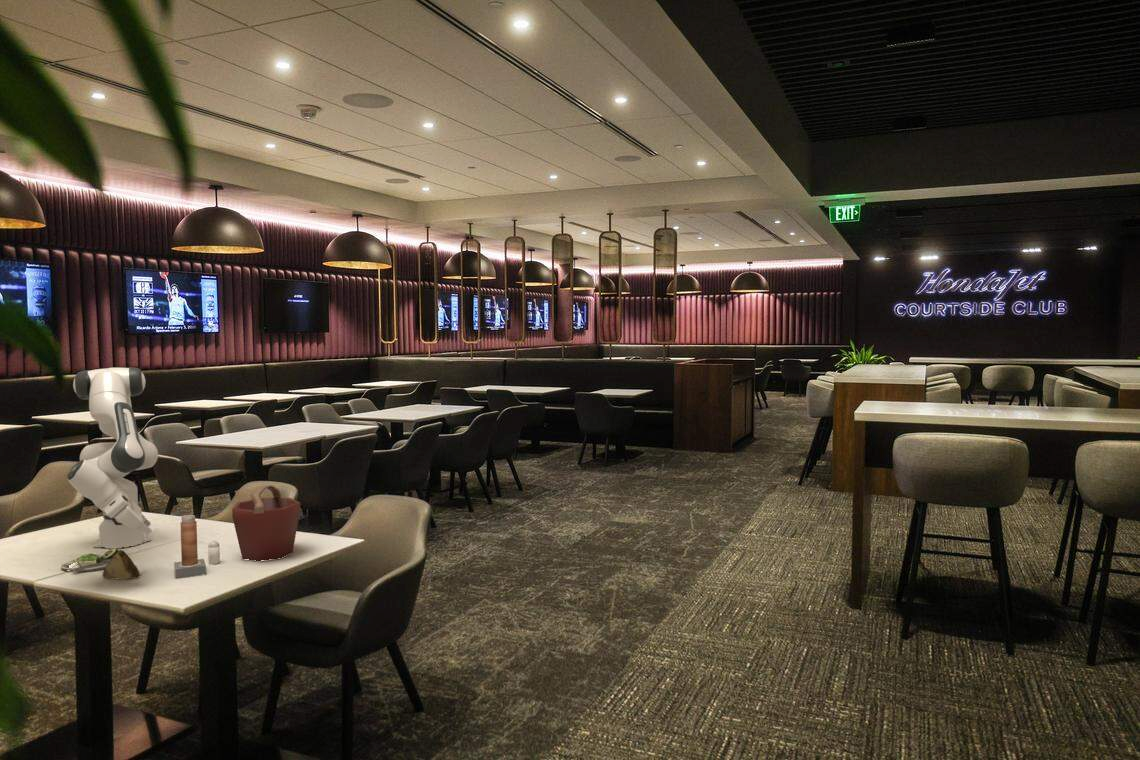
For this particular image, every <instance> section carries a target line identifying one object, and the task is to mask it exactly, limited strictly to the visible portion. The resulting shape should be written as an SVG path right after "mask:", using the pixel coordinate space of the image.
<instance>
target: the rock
mask: <svg viewBox="0 0 1140 760" xmlns="http://www.w3.org/2000/svg"><path fill="white" fill-rule="evenodd" d="M140 576H141V577H142V575H141V572H140V570H139V568H138V566H137V565H135V563H134V561H133V560H132V558H131V557H130V556H129V555H128V554H127V552H125V550H122V549H118V552H117V553H116V554H115V555H114V556H113V558H111V559H110V560H109V562H108V563H107V565H106V566H105V569H103V572H102V578H103V577H104V578H103V579H111V578H118V579H117V580H133V579H137V578H139V577H140ZM141 577H140V578H141Z"/></svg>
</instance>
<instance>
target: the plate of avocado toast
mask: <svg viewBox="0 0 1140 760" xmlns="http://www.w3.org/2000/svg"><path fill="white" fill-rule="evenodd" d="M118 551H119V548H109V549H108V550H107V551H106V552H105V553H104V554H103V553H88V554H82V555H80V556H78V557H76V558H74V559H72V560H70V561H67V562H65V563H62V564H61V565H60V568H61V569H62V570H64V571H66V570H70V571H87V572H91V570H94V571H98V570H97V569H100V570H104V569H103V568H105V566H106V565H107V563H108V562H109V560H110V559H111V558H113V556H114V555H115V554H116V553H117V552H118ZM76 562H77V563H78V564H77V565H78V566H79V567H75V568H73V567H72V568H69V565H71V564H73V563H76ZM70 571H69V572H70Z"/></svg>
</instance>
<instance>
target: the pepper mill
mask: <svg viewBox="0 0 1140 760" xmlns="http://www.w3.org/2000/svg"><path fill="white" fill-rule="evenodd" d="M197 526H198V525H197V520H196V515H194V514H187V515H182V516H181V522H180V545H181V546H180V548H181V549H180V551H181V553H180V554H181V562H182V565H183V566H191V565H195V564H197V563H198V555H199V554H198V529H197Z"/></svg>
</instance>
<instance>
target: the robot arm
mask: <svg viewBox="0 0 1140 760" xmlns="http://www.w3.org/2000/svg"><path fill="white" fill-rule="evenodd" d="M146 383H147V382H146V378H145V374H144V373H143V372H142V369H140V368H138V367H132V366H130V367H107V368H98V369H92V370H88V369H87V370H86V369H85V370H82V371H78V372H77V373H76V374H75V377H74V379H73V384H72V387H73V390H74V392H75V394H76V397H78V398H79V399H81V400H85V401H88V410H89V414H90V416H91V418H93V420H95V421H96V422H98V428H99V430H100V431H101V432H102V433H103V434H105V435H106V436H109V437H112V438H113V439H115V440H116V441H110V442H106V441H105V442H97V443H91V444H88V445H85V447H83V449H82V450H81V452H80V454H79V461H77V462H76V463H75V464H74V465H73V467H71V468H70V470H69V472H68V473H67V475H66V479H67V481H68V483H69V484H70V485H71V486H72V487H73V488H74V489H75V490H76V491H77V492H78V493H79V494H81V495H82V496H83V497H84V498H85V499H86V498H87V499H89V500H90V501H91V502H93V505H95V506H96V507H97V508H98V509H99V510H101V511H102V516H103V517H102V518H103V521H102V522H101V523H99V525H98V540H96V541H95V543H94V544H93V546H94V547H93V548H101V547H105V548H104V549H113V548H117V549H123V548H122V547H124V548H129V546H131V547H134V546H138V544H139V545H141V544H143V542H144V543H148V542H151V541H152V537H150V536H149V535H150V534H152V532H153V530H152V529H151V528H150V526H151V521H150V520H149V519H147V518H146V516H144V514H143V512H142V511H143V510H142V508H141V507H140V505H139V498H138V497H139V496H138V495H139V494H138V491H139V490H138V485H137V484H135V482H133V481H131V480H129V479H127V478H124V477H126V476H127V475H129V474H130V473H133V472H134V471H141V470H145V469H151V468H152V467H154V465H155V464H156V463H157V461H158V458H159V451H158V448H157V447H156V445H155V444H154V443H153V442H151V441H149V440H148V439H146V438H144V437H143V435H141V433H140V432H139V431H138V426H137V422H136V417H135V413H134V410H133V408H132V407H133V406H132V400H131V397H132V398H133V397H136V396H139V395H141V394H142V393H143V392H144V389H145V387H146ZM150 540H151V541H150ZM147 541H148V542H147Z"/></svg>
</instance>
